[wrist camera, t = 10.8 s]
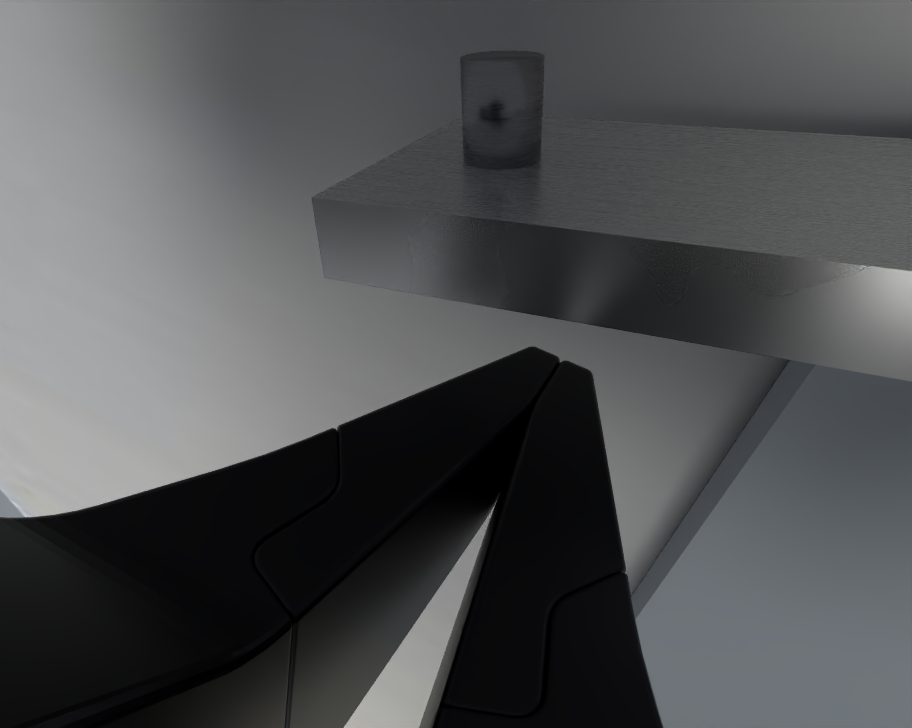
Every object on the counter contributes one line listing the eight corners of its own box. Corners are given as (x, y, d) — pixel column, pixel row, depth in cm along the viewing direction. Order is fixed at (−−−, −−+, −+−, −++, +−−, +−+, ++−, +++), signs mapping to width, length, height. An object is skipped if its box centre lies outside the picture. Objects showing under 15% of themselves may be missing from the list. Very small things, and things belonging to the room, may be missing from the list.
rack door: (470, 172, 11) (324, 277, 8) (467, 32, 10) (293, 84, 7) (1226, 245, 8) (1561, 495, 4) (1361, 39, 6) (1976, 160, 3)
